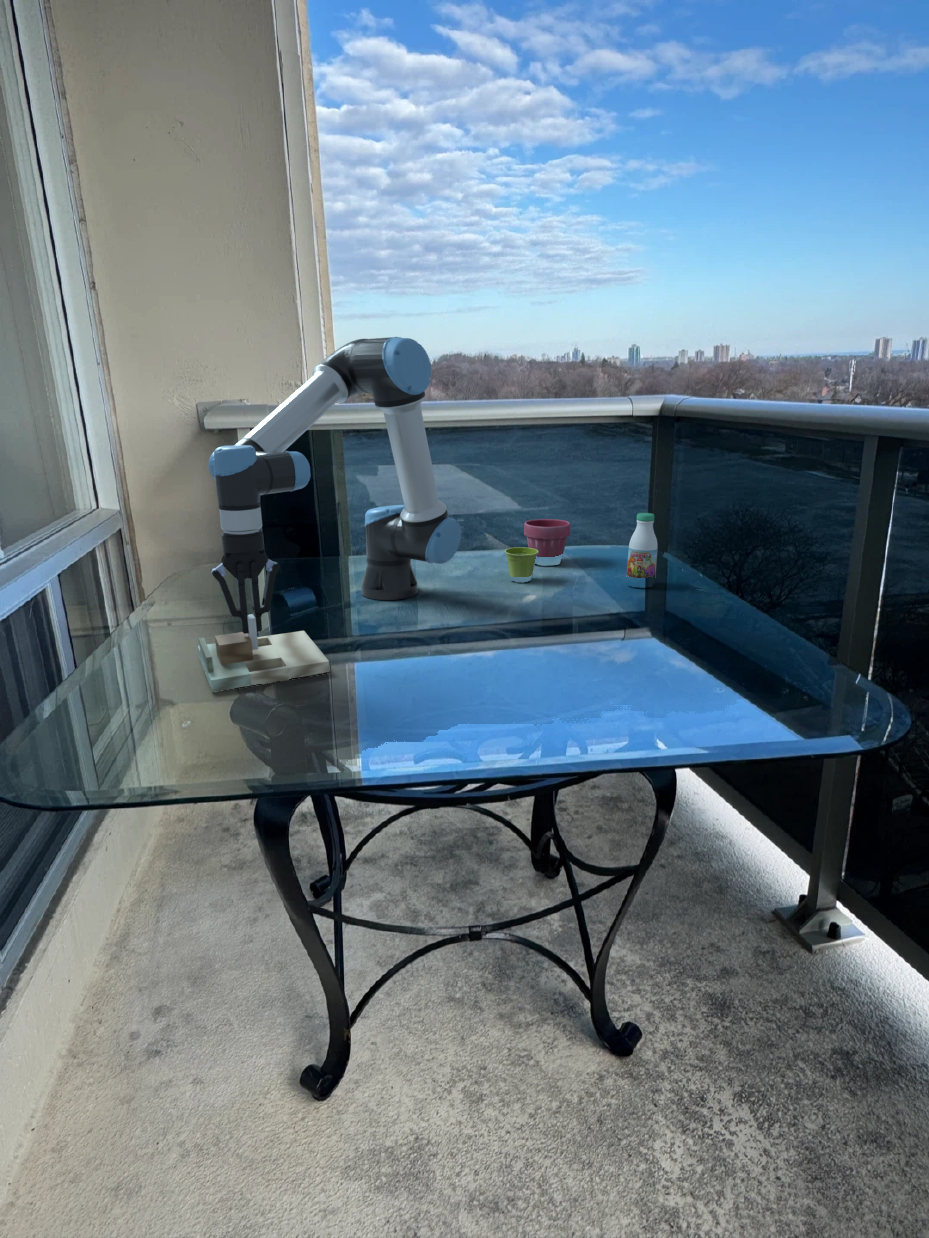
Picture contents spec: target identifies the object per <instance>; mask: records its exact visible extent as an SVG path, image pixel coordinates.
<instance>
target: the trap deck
mask: <svg viewBox="0 0 929 1238" xmlns="http://www.w3.org/2000/svg"><path fill="white" fill-rule="evenodd" d="M257 639H258V649H256V650H252V652H253V660H250V661H244V662H237V663H231V664H224V665H221V663H220V661H219V658H218V656H217V651H216V642H215V643H208V644H207V642H206V638H204V637H198V639H197V640H198V645H197V652H198V658H199V661H200V663H201V667H202V669H203V672H204V674H205V677H206V679H207V680H206V681H207V682H208V684H209V685H208V686H209V688H210V687H211V688H210V690H211V689H212V690H211V693H212V692H214V691H221V690H227V689H232V688H235V687H243V686H246V685H256V684H262V685H267V683H268V684H274V683H277V682H276V681H280V682H285V681H290V680H289V679H291V678H295V677H299V676H301V675H311V674H318V673H324V672H329V671H330V672H331V670H330V661H329V659H328V658H327V657H326V656H325V655H324V653H323V652H322V651H321V649H320V648H319V647H318V646H317V645H316V643H315V642H314V641H313V640H312V639H311V638H310V636H309V635H308V634H307V632H306V631H305V630H299V631H292V632H286V633H279V634H271V635H264V636H257ZM273 682H274V683H273ZM256 686H257V685H256ZM227 691H228V690H227ZM221 692H222V691H221Z"/></svg>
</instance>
